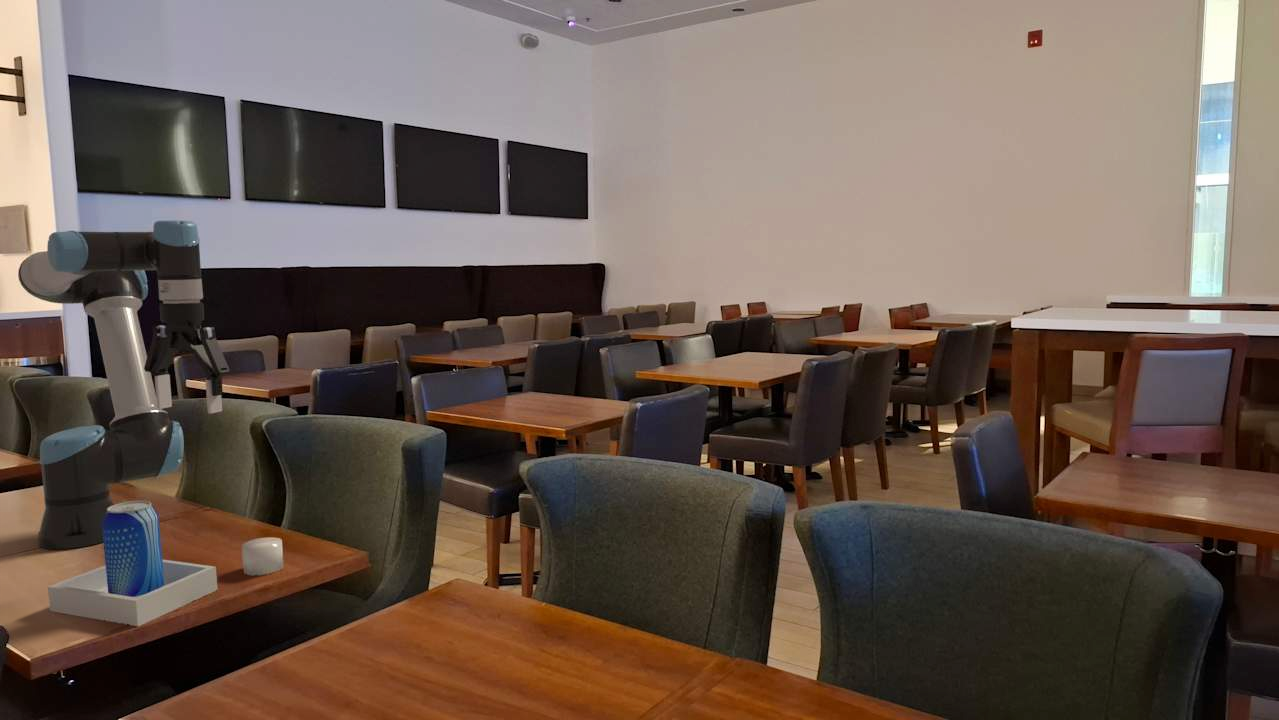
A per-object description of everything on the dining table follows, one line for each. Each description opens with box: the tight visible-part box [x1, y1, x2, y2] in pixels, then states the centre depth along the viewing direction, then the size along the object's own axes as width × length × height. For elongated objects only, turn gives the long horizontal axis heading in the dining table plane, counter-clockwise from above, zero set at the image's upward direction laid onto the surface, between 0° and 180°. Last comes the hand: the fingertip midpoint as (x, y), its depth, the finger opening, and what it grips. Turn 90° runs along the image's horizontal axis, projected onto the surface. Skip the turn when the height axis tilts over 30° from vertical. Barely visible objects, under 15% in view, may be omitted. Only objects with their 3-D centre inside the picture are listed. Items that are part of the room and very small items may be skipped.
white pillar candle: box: [241, 536, 285, 576], centre depth 164 cm, size 7×7×5 cm
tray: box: [47, 558, 218, 627], centre depth 150 cm, size 20×16×4 cm
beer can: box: [102, 500, 164, 598], centre depth 149 cm, size 8×8×16 cm
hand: (189, 410), depth 170 cm, fingers open, 13 cm apart
